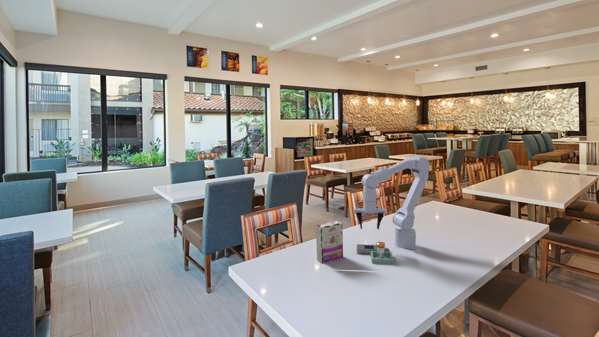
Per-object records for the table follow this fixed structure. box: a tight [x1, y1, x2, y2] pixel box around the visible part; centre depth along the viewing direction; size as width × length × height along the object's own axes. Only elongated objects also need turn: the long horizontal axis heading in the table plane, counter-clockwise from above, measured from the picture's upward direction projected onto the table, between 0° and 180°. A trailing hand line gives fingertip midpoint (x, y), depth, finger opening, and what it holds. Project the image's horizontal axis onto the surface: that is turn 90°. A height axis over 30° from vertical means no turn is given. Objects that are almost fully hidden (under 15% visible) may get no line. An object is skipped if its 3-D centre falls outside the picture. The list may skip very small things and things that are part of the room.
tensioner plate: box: [356, 243, 391, 255], centre depth 149 cm, size 15×7×3 cm, turn 81°
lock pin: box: [375, 241, 386, 259], centre depth 141 cm, size 4×4×7 cm
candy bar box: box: [315, 220, 344, 264], centre depth 142 cm, size 11×5×16 cm, turn 117°
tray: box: [370, 251, 395, 265], centre depth 140 cm, size 9×9×2 cm
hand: (369, 228), depth 152 cm, fingers open, 7 cm apart
